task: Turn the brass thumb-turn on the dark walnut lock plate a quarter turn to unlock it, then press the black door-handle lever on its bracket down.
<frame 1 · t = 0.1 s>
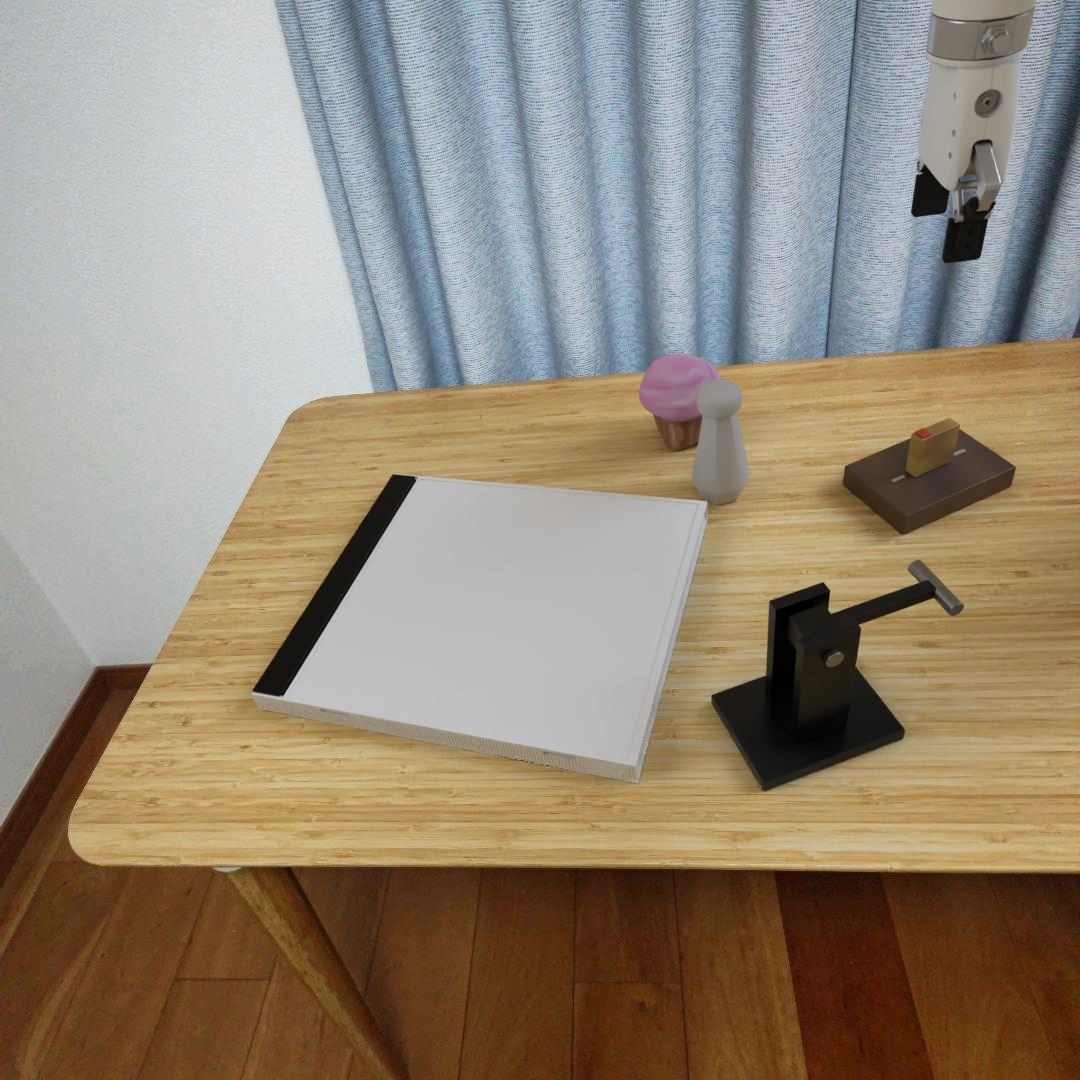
hand: (943, 236, 84), 21 cm above the table, tool pointing down, fingers open, 9 cm apart
door handle: (869, 610, 65), point 11 cm above the table, hinge at 0.0°
thumb turn: (932, 446, 87), point 5 cm above the table, hinge at 0.0°
salt shaker: (720, 493, 94), on the table
handle bracket: (804, 720, 72), on the table
lock plate: (925, 485, 90), on the table
cd case: (496, 610, 86), on the table
cupcake: (682, 439, 101), on the table
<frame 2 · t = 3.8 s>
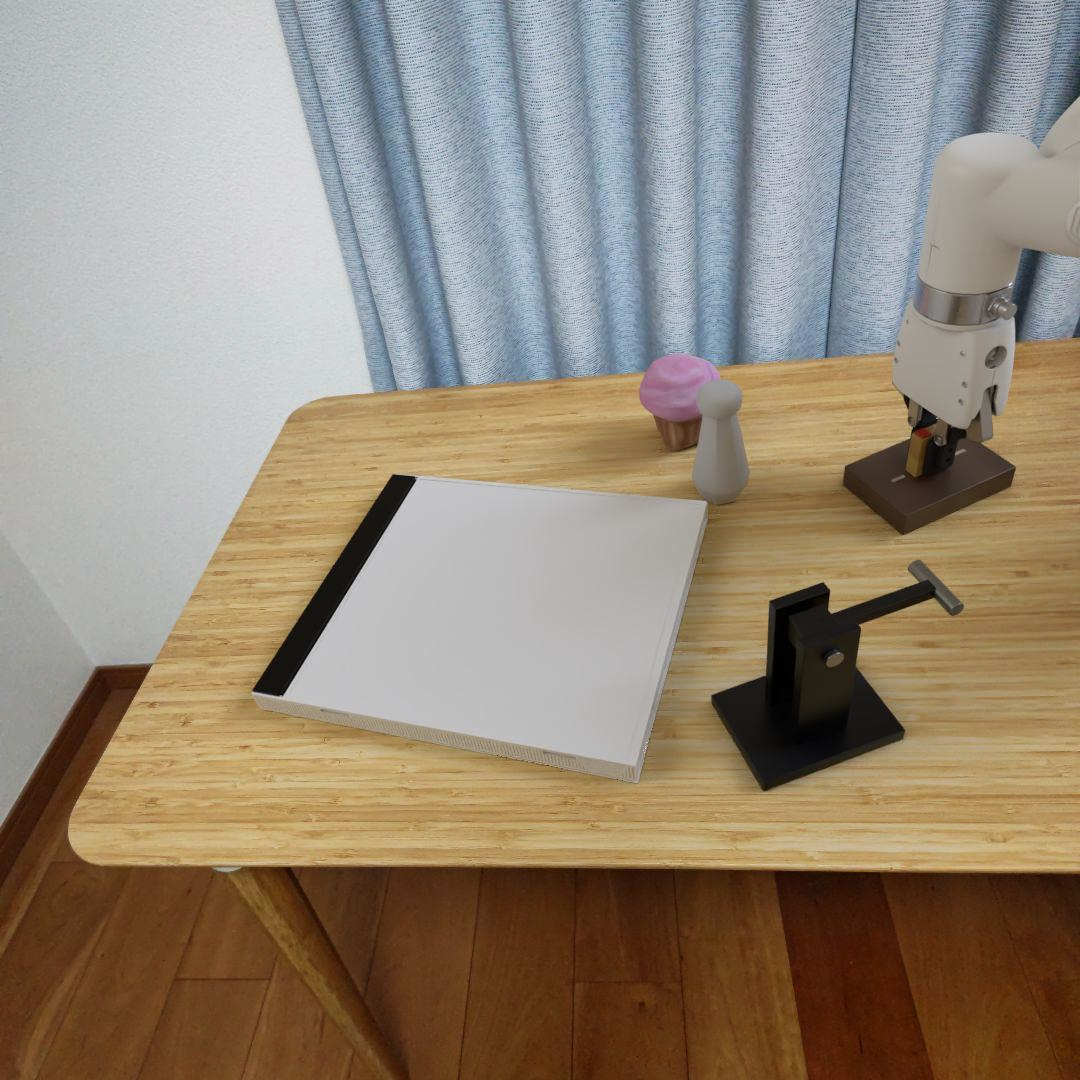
hand: (929, 462, 88), 3 cm above the table, tool pointing down, fingers closed
thumb turn: (932, 446, 87), point 5 cm above the table, hinge at 0.0°, touching gripper
everything else where it was.
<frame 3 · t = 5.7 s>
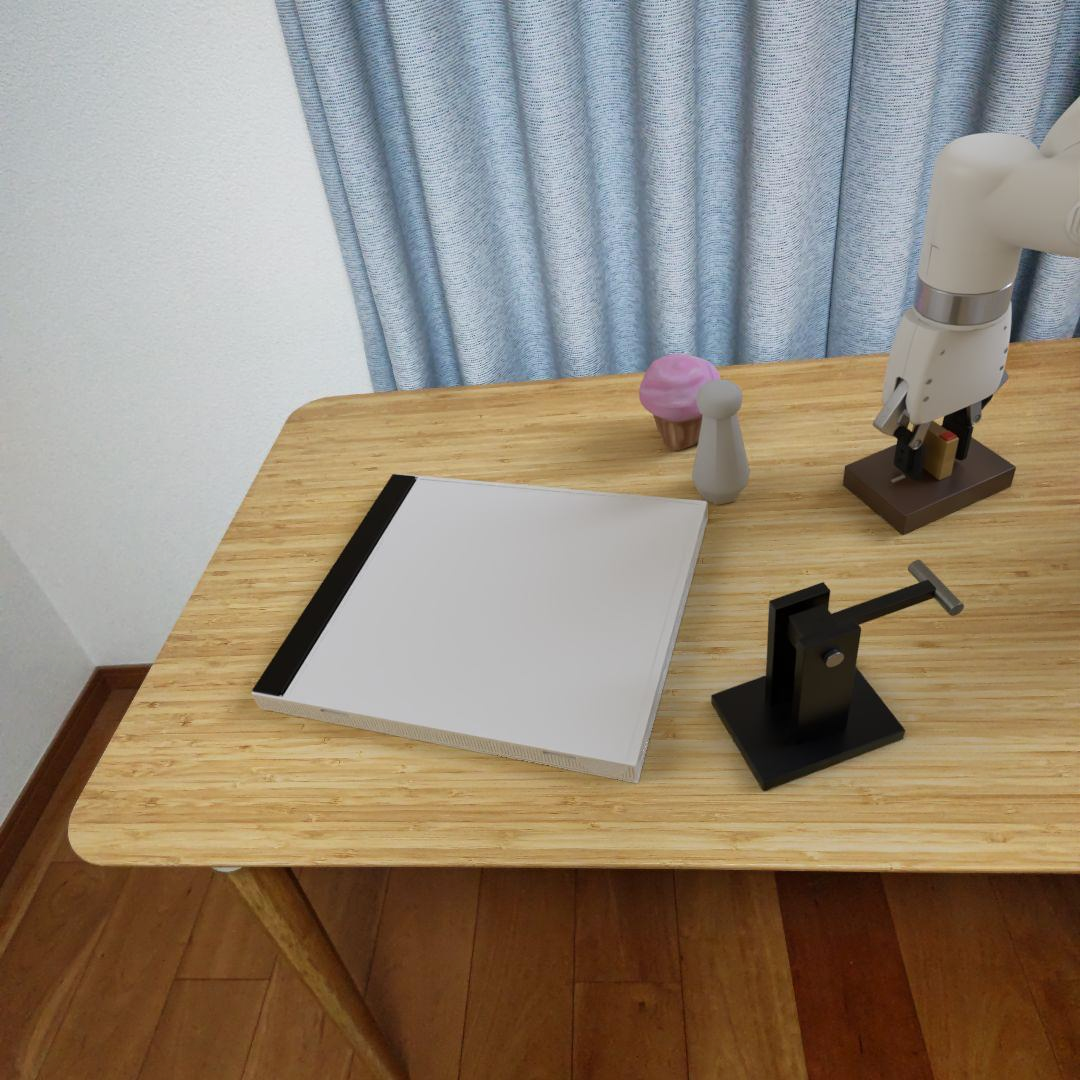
hand: (929, 460, 88), 3 cm above the table, tool pointing down, fingers open, 4 cm apart
thumb turn: (932, 446, 87), point 5 cm above the table, hinge at 89.7°
everything else where it was.
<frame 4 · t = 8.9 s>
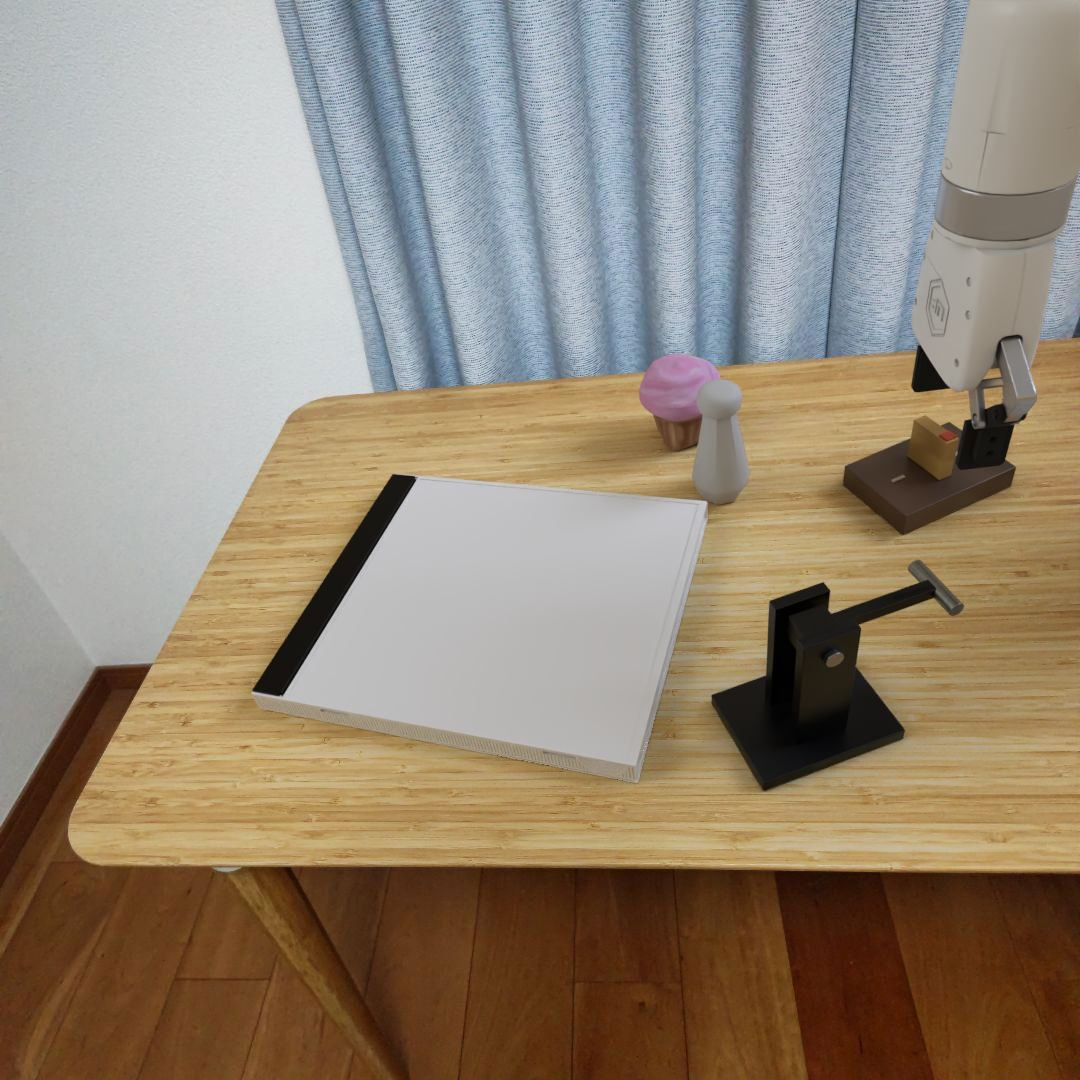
hand: (954, 424, 67), 19 cm above the table, tool pointing down, fingers open, 9 cm apart
nothing on the table moved.
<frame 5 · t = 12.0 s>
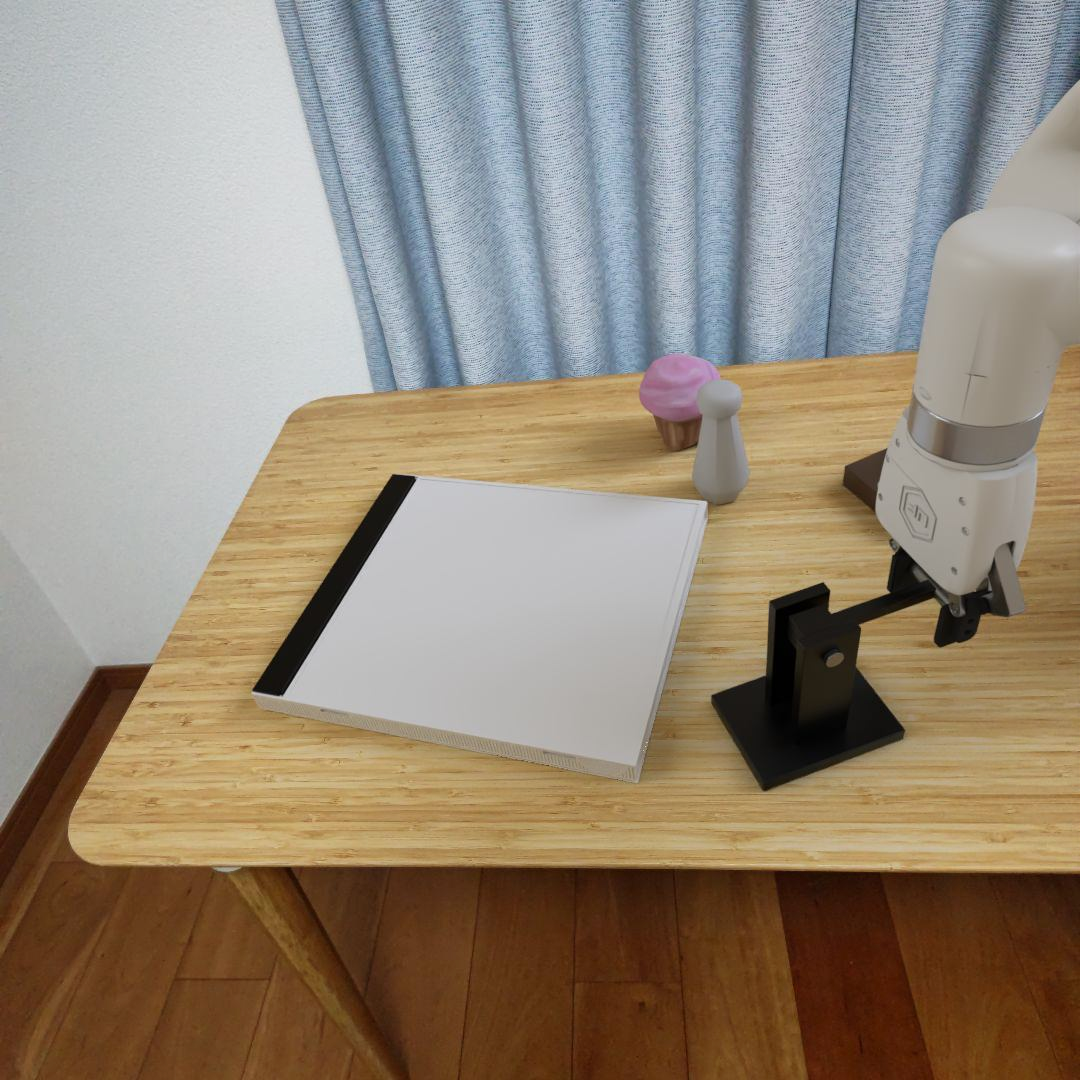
hand: (929, 610, 68), 8 cm above the table, tool pointing down, fingers closed on door handle, 5 cm apart
door handle: (869, 610, 65), point 11 cm above the table, hinge at 0.0°, touching gripper
everything else where it was.
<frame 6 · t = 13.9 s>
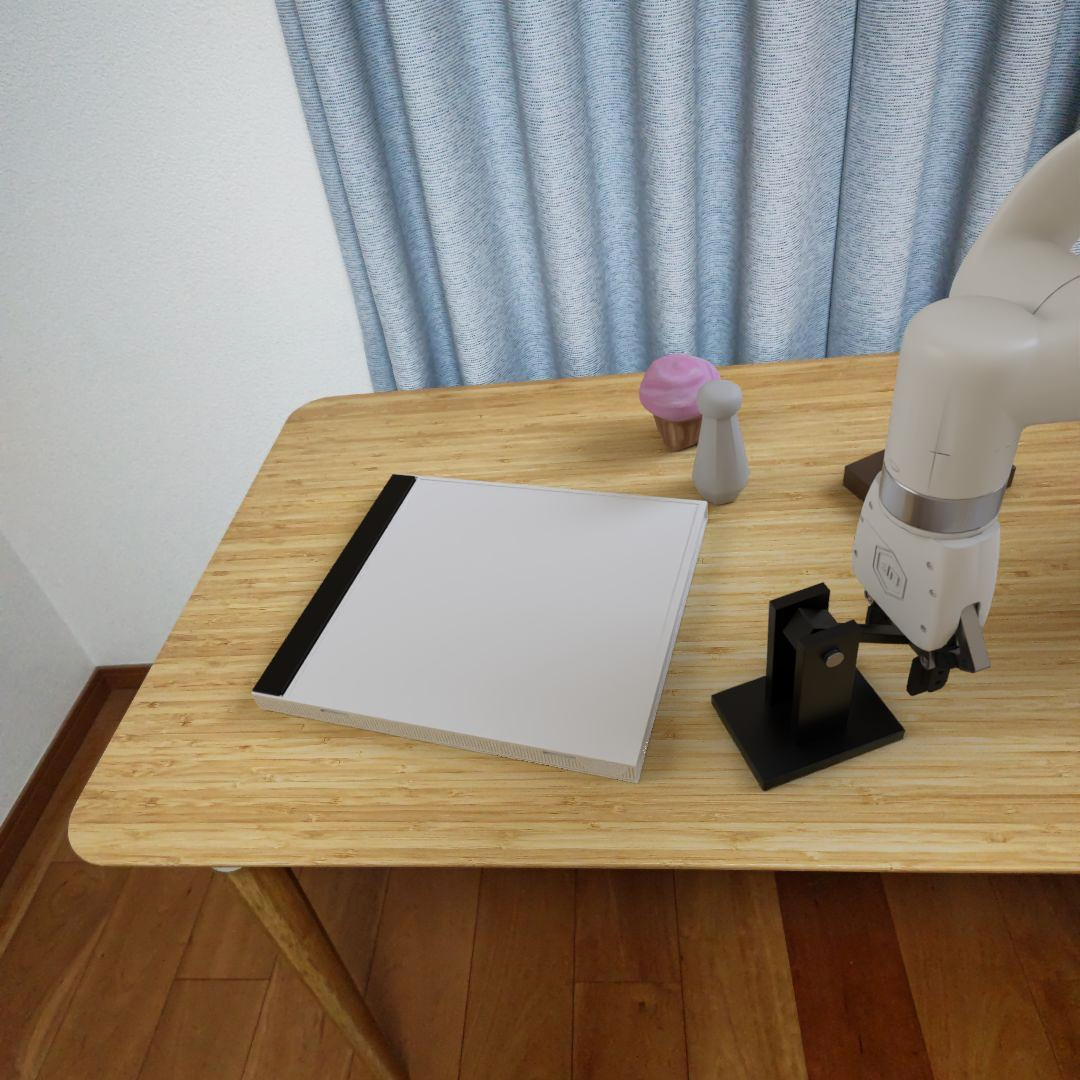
hand: (903, 659, 71), 3 cm above the table, tool pointing down, fingers closed on door handle, 5 cm apart
door handle: (859, 633, 67), point 9 cm above the table, hinge at -29.0°, touching gripper
everything else where it was.
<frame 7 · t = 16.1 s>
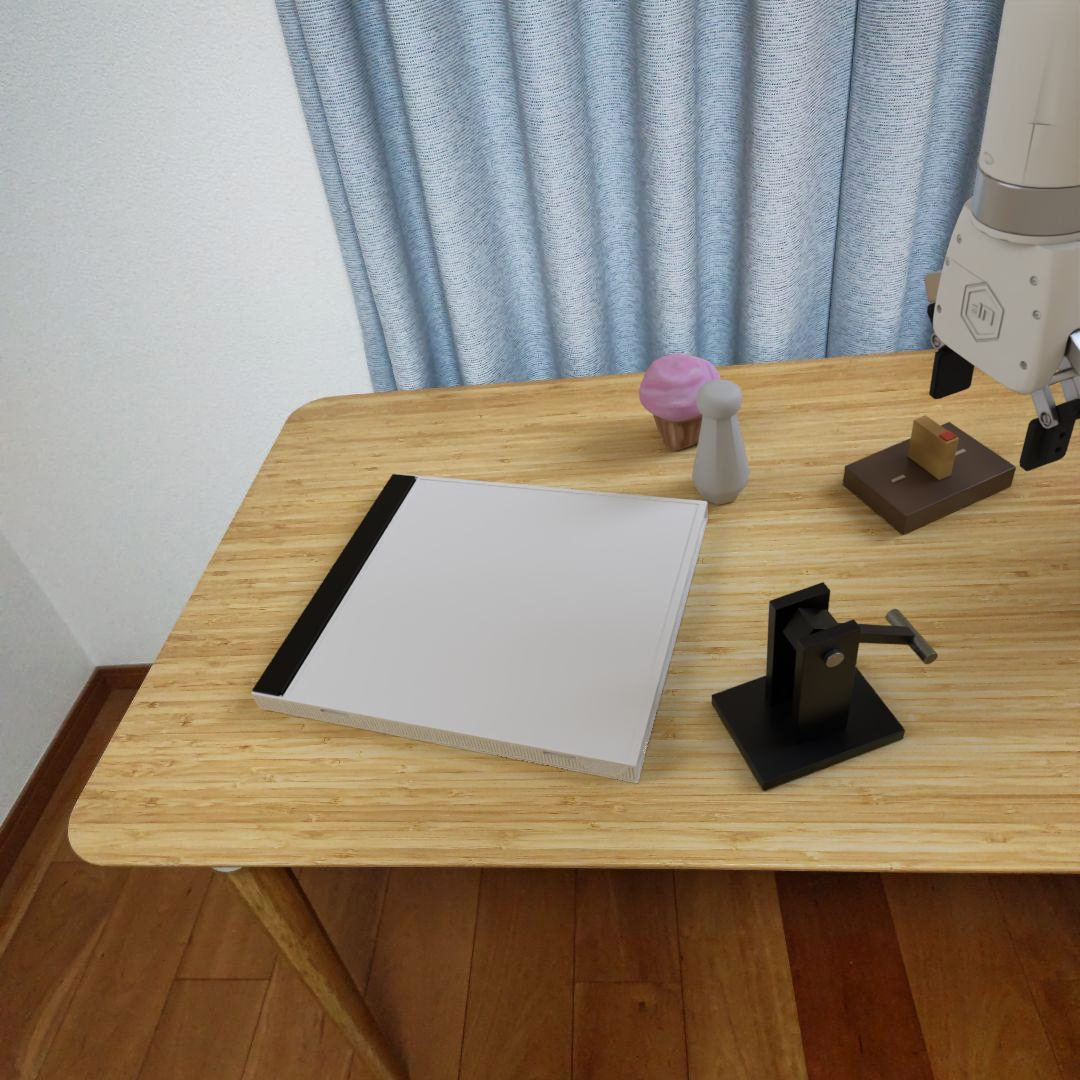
hand: (992, 425, 65), 20 cm above the table, tool pointing down, fingers open, 9 cm apart
door handle: (859, 633, 67), point 9 cm above the table, hinge at -29.2°
everything else where it was.
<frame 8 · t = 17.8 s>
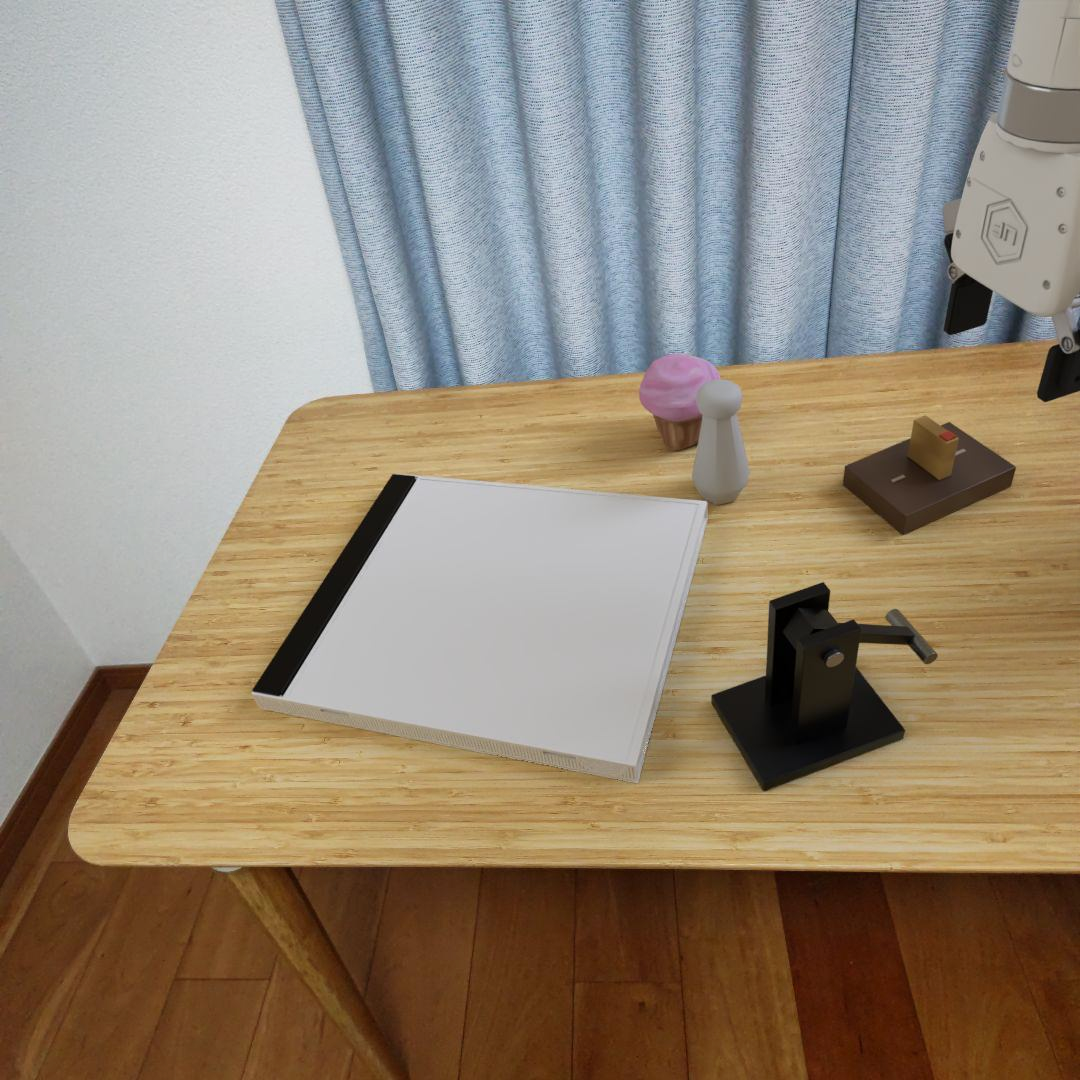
hand: (1009, 359, 63), 24 cm above the table, tool pointing down, fingers open, 9 cm apart
nothing on the table moved.
at the end: thumb turn at +90° (first picture: +0°); door handle at -29° (first picture: +0°) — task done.
